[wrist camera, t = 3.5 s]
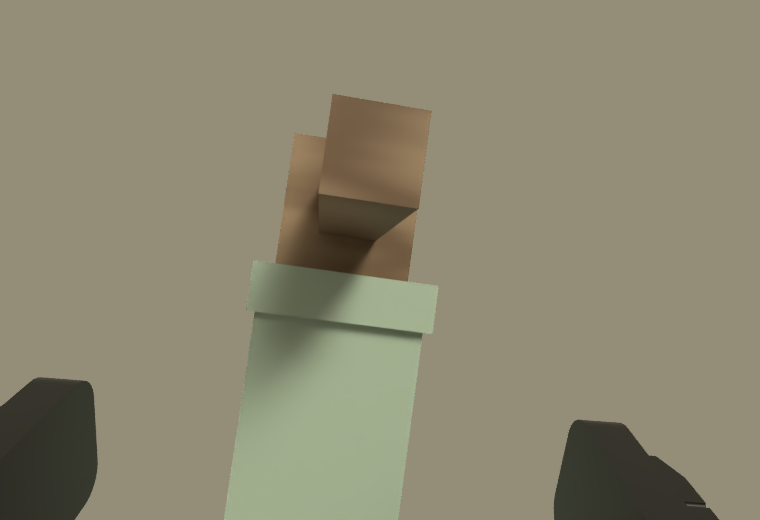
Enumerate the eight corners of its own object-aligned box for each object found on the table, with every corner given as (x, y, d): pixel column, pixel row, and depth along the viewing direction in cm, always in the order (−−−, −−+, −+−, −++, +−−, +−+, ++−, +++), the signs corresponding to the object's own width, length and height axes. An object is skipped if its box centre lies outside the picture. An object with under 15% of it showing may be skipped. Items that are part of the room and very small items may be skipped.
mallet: (390, 283, 31) (404, 178, 32) (473, 282, 15) (502, 59, 15) (283, 268, 31) (299, 161, 31) (240, 249, 14) (275, 17, 14)
